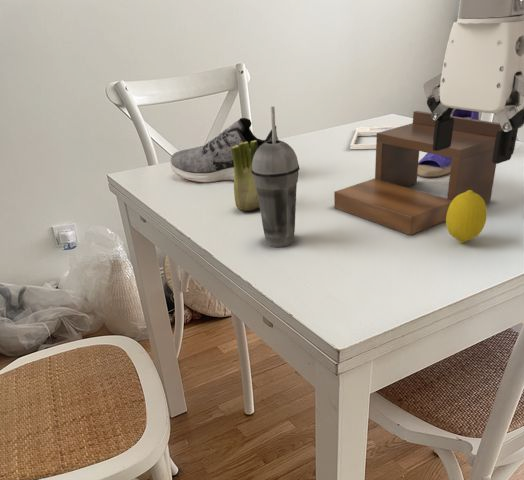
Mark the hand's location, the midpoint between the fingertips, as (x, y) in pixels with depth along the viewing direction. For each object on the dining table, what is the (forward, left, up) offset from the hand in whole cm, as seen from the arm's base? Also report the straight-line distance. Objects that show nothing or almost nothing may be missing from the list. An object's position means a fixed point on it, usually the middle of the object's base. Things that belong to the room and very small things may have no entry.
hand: (470, 154), depth 74 cm
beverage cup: (+19, -20, -13) cm, 30 cm away
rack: (-7, -16, -13) cm, 22 cm away
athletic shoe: (+6, -56, -13) cm, 58 cm away
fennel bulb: (+14, -36, -13) cm, 41 cm away
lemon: (-1, 0, -13) cm, 13 cm away
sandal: (-30, -27, -13) cm, 43 cm away
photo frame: (-37, -52, -13) cm, 65 cm away
